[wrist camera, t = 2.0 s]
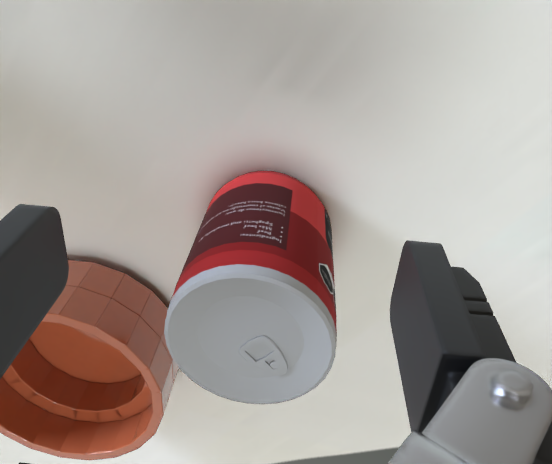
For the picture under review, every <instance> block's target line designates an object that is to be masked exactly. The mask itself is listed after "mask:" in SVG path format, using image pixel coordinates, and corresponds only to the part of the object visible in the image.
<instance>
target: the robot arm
mask: <svg viewBox="0 0 552 464" xmlns="http://www.w3.org/2000/svg"><path fill="white" fill-rule="evenodd" d="M68 273H69V264H68V258H67V252H66V246H65V241H64V235H63V229H62V223H61V218H60V214H59V212H58V210H57V209H56V208H54V207H47V206H36V205H25V204H20V205H17V206H16V207H15V208H14V209H13V210H12V211H11V212H9V213H8V214H7V215H6V216H5V217H4V218H3V219H2V220H1V221H0V379H1V378H2V376H3V375H4V373H5V372H6V371H7V369H8V368H9V366H10V365H11V364H12V362H13V361H14V359H15V358H16V357H17V355H18V354H19V352H20V351H21V349H22V348H23V347H24V345H25V344H26V342H27V341H28V340H29V338H30V337H31V335H32V334H33V333H34V331H35V330H36V328H37V327H38V325H39V324H40V323H41V321H42V320H43V318H44V317H45V316H46V314H47V313H48V311H49V310H50V309H51V307H52V306H53V304H54V303H55V301H56V300H57V299H58V297H59V296H60V294H61V293H62V292H63V290H64V288H65V286H66V283H67V279H68ZM390 322H391V328H392V333H393V338H394V343H395V349H396V354H397V359H398V364H399V369H400V375H401V380H402V385H403V390H404V396H405V401H406V406H407V411H408V417H409V422H410V427H411V432H412V433H411V434H410V435H409V436H408V437H407V438H406V440H405V441H404V442H403V443H402V445H401V446H400V447H399V449H398V450H397V451H396V453H395V454H394V455H393V457H392V458H391V459H390V461H389V462H388V463H387V464H552V390H551V388H550V387H549V385H548V384H547V383H546V382H545V381H544V380H543V379H542V378H541V377H539V376H538V375H537V374H536V373H534V372H533V371H531V370H530V369H528V368H526V367H524V366H522V365H520V364H518V363H516V361H515V359H514V356H513V354H512V352H511V350H510V348H509V346H508V344H507V341H506V339H505V337H504V335H503V333H502V331H501V328H500V326H499V324H498V322H497V320H496V318H495V316H493V311H492V309H491V307H490V305H489V303H488V302H487V298H486V296H485V294H484V292H483V290H482V288H481V286H480V283H479V282H478V281H477V280H476V279H475V278H474V277H472V276H471V275H470V274H469V273H468V272H467V271H466V270H465V269H464V268H459V267H451V266H450V264H449V261H448V259H447V256H446V254H445V251H444V249H443V247H442V245H441V244H439V243H428V242H417V241H406V242H405V244H404V246H403V249H402V253H401V258H400V262H399V266H398V271H397V275H396V279H395V284H394V288H393V292H392V297H391V304H390ZM19 464H28V463H19Z"/></svg>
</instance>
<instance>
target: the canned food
mask: <svg viewBox="0 0 552 464" xmlns="http://www.w3.org/2000/svg"><path fill="white" fill-rule="evenodd" d="M164 334H165V339H166V344H167V347H168V350H169V352H170V354H171V356H172V358H173V360H174V361H175V363H176V364H177V365H178V367H179V368H180V370H182V371H183V372H184V373H185V374H186V375H187V376H188V377H189V378H190V379H191V380H192V381H194V382H195V383H196V384H198V385H199V386H201V387H202V388H204V389H206V390H208V391H210V392H212V393H214V394H216V395H218V396H221V397H224V398H227V399H230V400H233V401H238V402H243V403H250V404H272V403H280V402H284V401H289V400H292V399H295V398H297V397H300V396H302V395H305V394H306V393H308V392H309V391H311V390H312V389H314V388H315V387H317V386H318V385H319V384H320V383H321V382H322V381H323V380H324V379H325V377H326V376H327V374H328V372H329V371H330V369H331V367H332V364H333V361H334V358H335V349H336V337H337V332H336V304H335V286H334V268H333V250H332V232H331V224H330V220H329V216H328V214H327V212H326V209H325V207H324V206H323V204H322V203H321V201H320V200H319V199H318V197H317V196H316V195H315V193H314V192H313V191H312V190H311V189H310V188H309V187H307V186H306V185H305V184H304V183H302V182H300V181H299V180H297V179H296V178H293V177H291V176H289V175H286V174H283V173H279V172H274V171H256V172H249V173H246V174H244V175H241V176H238V177H237V178H235V179H233V180H232V181H230V182H228V183H227V184H225V185H224V186H223V187H222V188H221V189H220V190H219V191H218V192H217V193H216V194H215V196H214V197H213V199H212V200H211V202H210V204H209V207H208V209H207V212H206V214H205V216H204V219H203V221H202V224H201V226H200V229H199V231H198V234H197V236H196V238H195V241H194V243H193V246H192V248H191V251H190V253H189V255H188V258H187V260H186V263H185V265H184V268H183V270H182V273H181V275H180V277H179V280H178V282H177V285H176V288H175V291H174V294H173V296H172V299H171V301H170V304H169V307H168V310H167V316H166V319H165V330H164Z"/></svg>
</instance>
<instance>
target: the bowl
mask: <svg viewBox="0 0 552 464" xmlns="http://www.w3.org/2000/svg"><path fill="white" fill-rule="evenodd" d="M68 264H69V273H68V279H67V283H66V286H65V288H64V290H63V292H62V293H61V294H60V296H59V297H58V299H57V300H56V301H55V303H54V304H53V306H52V307H51V309H50V310H49V311H48V313H47V314H46V316H45V317H44V318H43V320H42V321H41V323H40V324H39V325H38V327H37V328H36V330H35V331H34V333H33V334H32V335H31V337H30V338H29V340H28V341H27V342H26V344H25V345H24V347H23V348H22V349H21V351H20V352H19V354H18V355H17V357H16V358H15V359H14V361H13V362H12V364H11V365H10V366H9V368H8V369H7V371H6V372H5V373H4V375H3V376H2V378H1V379H0V433H1V434H3V435H5V436H7V437H9V438H11V439H13V440H14V441H16V442H18V443H20V444H22V445H24V446H26V447H28V448H31V449H34V450H37V451H41V452H44V453H47V454H51V455H54V456H57V457H59V456H60V457H62V458H72V459H81V460H97V459H106V458H115V457H118V456H121V455H123V454H126V453H128V452H131V451H133V450H136V449H138V448H140V447H141V446H142V445H143V444H144V443H145V442H146V441H148V440H149V439H150V438H151V437H152V436H153V435H154V434H155V433H156V431H157V429H158V426H159V424H160V422H161V419H162V417H163V414H164V411H165V408H166V405H167V402H168V399H169V396H170V392H171V389H172V386H173V383H174V380H175V377H176V374H177V371H178V365H177V364H176V363H175V361H174V360H173V358H172V356H171V354H170V352H169V350H168V347H167V344H166V339H165V334H164V330H165V319H166V316H167V310H168V308H167V307H166V306H165V305H164V303H163V302H162V301H161V300H160V299H159V298H158V297H157V296H156V295H155V293H154V292H153V291H151V290H150V289H149V288H147V287H146V286H144V285H142V284H141V283H139V282H138V281H136V280H135V279H133V278H132V277H130V276H129V275H127V274H125V273H123V272H120V271H117V270H114V269H112V268H109V267H106V266H103V265H100V264H97V263H94V262H84V261H73V260H68Z"/></svg>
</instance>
